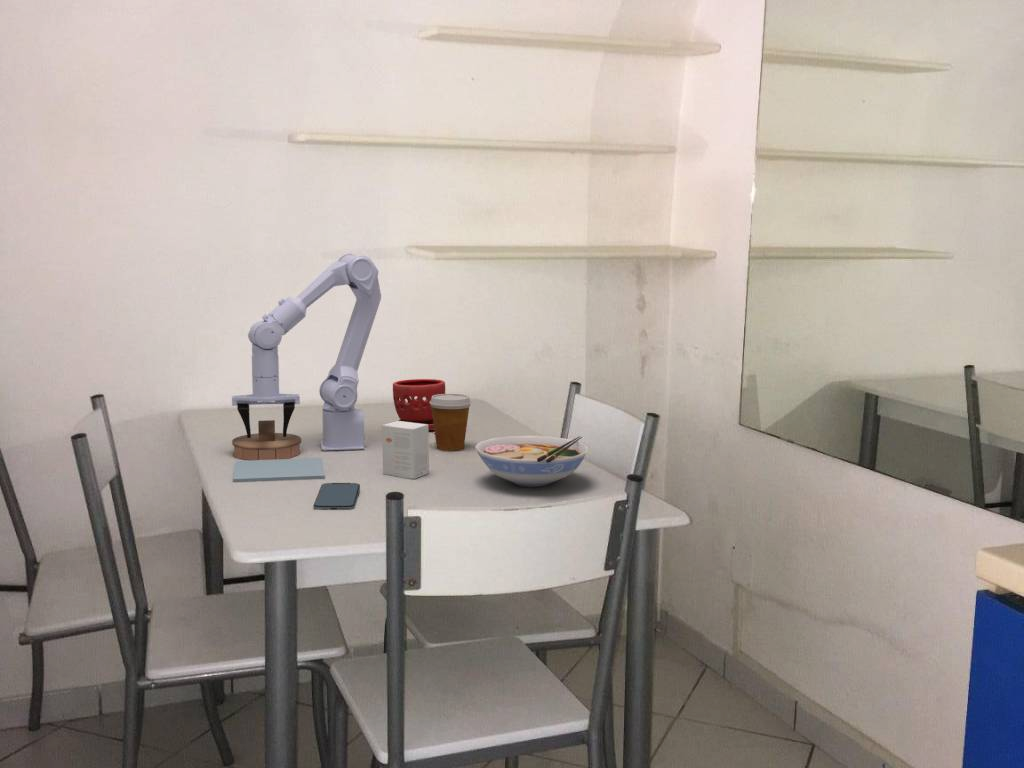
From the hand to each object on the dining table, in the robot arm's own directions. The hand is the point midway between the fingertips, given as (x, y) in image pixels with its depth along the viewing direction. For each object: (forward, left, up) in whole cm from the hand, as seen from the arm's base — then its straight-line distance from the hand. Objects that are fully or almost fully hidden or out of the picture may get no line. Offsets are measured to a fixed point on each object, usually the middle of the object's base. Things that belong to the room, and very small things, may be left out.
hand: (266, 436), depth 236 cm
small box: (-28, +24, -4) cm, 37 cm away
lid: (0, 0, -1) cm, 1 cm away
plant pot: (-37, -23, -4) cm, 44 cm away
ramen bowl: (-52, +35, -4) cm, 63 cm away
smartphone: (-13, +41, -4) cm, 43 cm away
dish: (0, 0, -4) cm, 4 cm away
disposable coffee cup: (-41, +1, -4) cm, 41 cm away
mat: (-2, +17, -4) cm, 18 cm away
